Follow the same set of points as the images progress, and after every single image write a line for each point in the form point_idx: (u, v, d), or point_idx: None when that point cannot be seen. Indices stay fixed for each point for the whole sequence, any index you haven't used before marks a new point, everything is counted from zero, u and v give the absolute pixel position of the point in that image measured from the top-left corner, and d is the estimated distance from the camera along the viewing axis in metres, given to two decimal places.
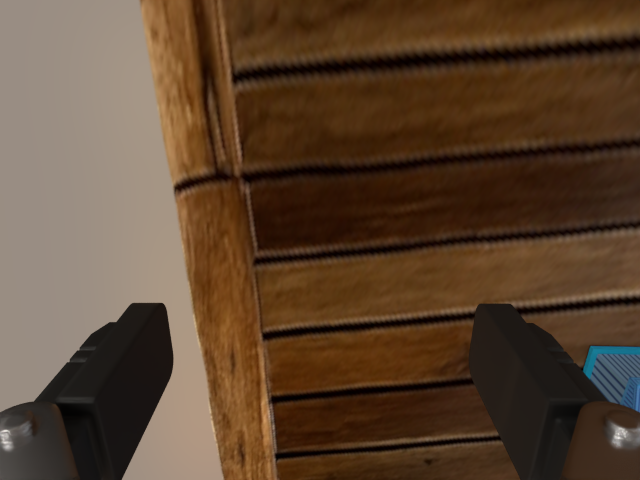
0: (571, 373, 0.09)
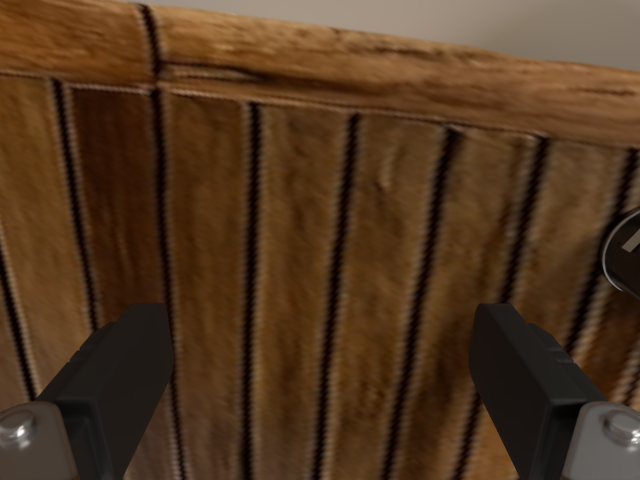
0: (571, 373, 0.09)
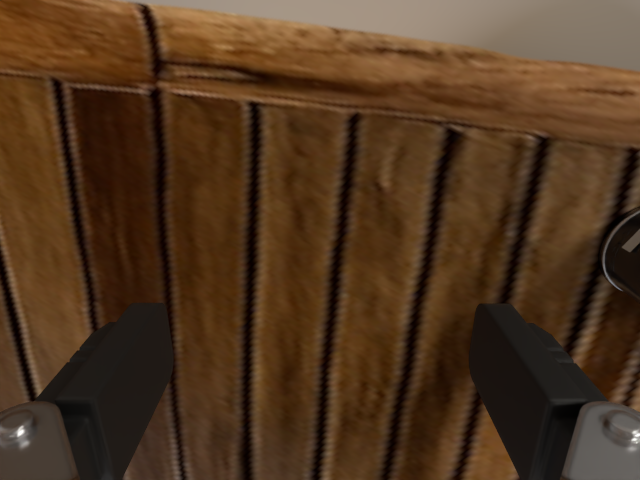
0: (571, 373, 0.09)
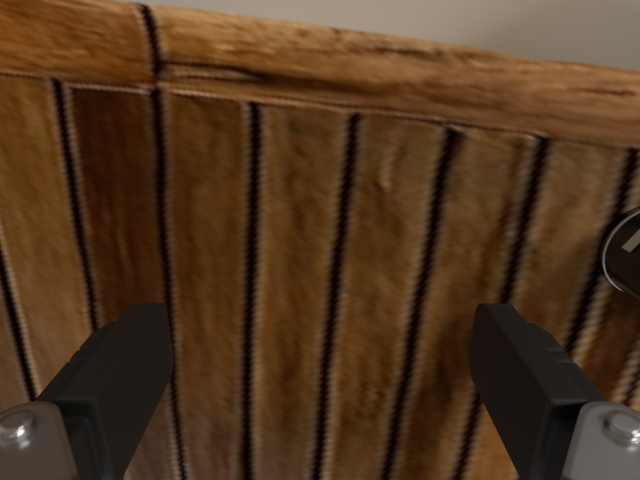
0: (571, 373, 0.09)
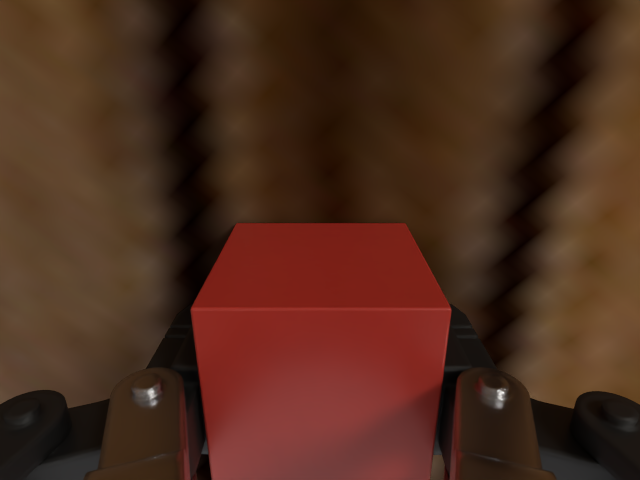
0: (472, 347, 0.10)
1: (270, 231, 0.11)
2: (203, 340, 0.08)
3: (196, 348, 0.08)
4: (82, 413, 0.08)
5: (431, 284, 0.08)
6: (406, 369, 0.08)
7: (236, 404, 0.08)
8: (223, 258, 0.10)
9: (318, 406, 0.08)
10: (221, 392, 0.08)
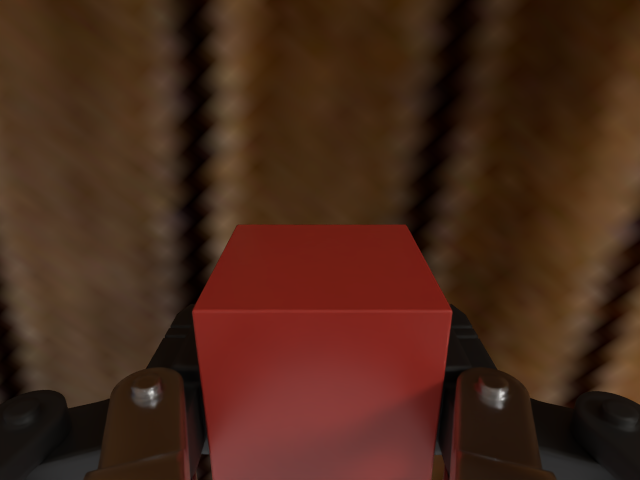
0: (472, 347, 0.10)
1: (270, 232, 0.11)
2: (205, 342, 0.08)
3: (198, 350, 0.08)
4: (82, 413, 0.08)
5: (431, 285, 0.08)
6: (407, 371, 0.08)
7: (237, 406, 0.08)
8: (224, 260, 0.10)
9: (320, 408, 0.08)
10: (222, 394, 0.08)
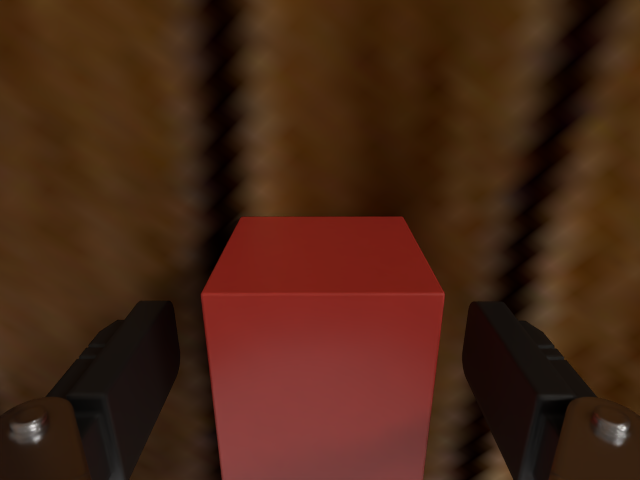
0: (561, 370, 0.09)
1: (273, 224, 0.12)
2: (212, 324, 0.08)
3: (206, 331, 0.08)
4: None
5: (426, 272, 0.09)
6: (403, 350, 0.09)
7: (243, 385, 0.09)
8: (229, 249, 0.10)
9: (320, 386, 0.09)
10: (229, 373, 0.09)
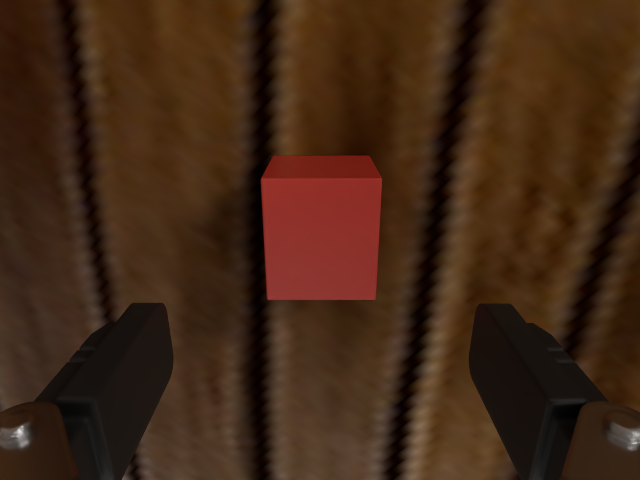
0: (571, 373, 0.09)
1: (292, 158, 0.20)
2: (266, 195, 0.17)
3: (262, 199, 0.17)
4: None
5: (374, 172, 0.17)
6: (362, 210, 0.17)
7: (280, 231, 0.17)
8: (270, 166, 0.18)
9: (320, 231, 0.17)
10: (273, 224, 0.17)
